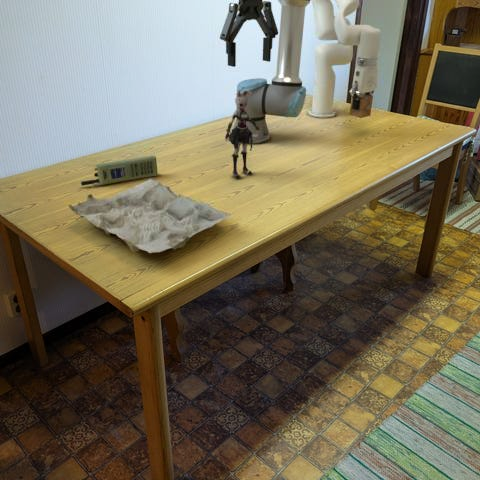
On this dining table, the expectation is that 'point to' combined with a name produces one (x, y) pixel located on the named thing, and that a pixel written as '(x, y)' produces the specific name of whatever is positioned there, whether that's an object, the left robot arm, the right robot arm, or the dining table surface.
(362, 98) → the block
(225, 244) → the dining table surface
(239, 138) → the figurine
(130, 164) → the handheld radio
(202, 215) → the grey bumpy flat piece
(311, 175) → the dining table surface
